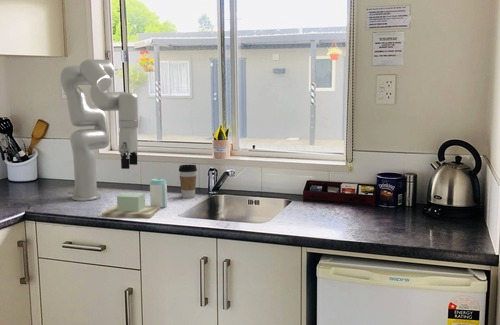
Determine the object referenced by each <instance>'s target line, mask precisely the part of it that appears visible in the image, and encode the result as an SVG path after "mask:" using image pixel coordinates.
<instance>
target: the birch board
mask: <svg viewBox="0 0 500 325" xmlns="http://www.w3.org/2000/svg"><path fill="white" fill-rule="evenodd" d="M159 211H161V208H160V206H151V205H145V208H144V209H142V210H141V211H139V212H130V211H118V209H117V204H113V205H112V206H110V207H109V208H107V209H105V210H103V212H101V217H103V218H104V217H105V218H132V219H134V218H135V219H136V218H137V219H138V218H139V219H141V218H142V219H151V218H152V217H154V214H155V213H156V214H157V213H158V212H159ZM156 214H155V215H156Z"/></svg>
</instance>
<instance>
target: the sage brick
mask: <svg viewBox="0 0 500 325" xmlns="http://www.w3.org/2000/svg"><path fill="white" fill-rule="evenodd" d="M145 195H146V194H145V193H141V192H140V193H139V192H138V193H137V192H123V193H120V194H119V195H117V196H116V203H117V204H116V205H117V209H118V211H130V212H139V211H141V210H142V209H144V208H145V206H146V198H145V197H146V196H145Z"/></svg>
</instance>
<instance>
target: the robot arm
mask: <svg viewBox="0 0 500 325" xmlns="http://www.w3.org/2000/svg"><path fill="white" fill-rule="evenodd" d="M114 74H115V67H114V65H113V63H112V62H111V61H109V60H107V59H91V58H90V59H85V60H83V61H82V62H80V64H79V65H70V66H69V65H68V66H66V67H64V68H62V69H61V73H60V84H61V87H62V89H63V92H64V94H65V97H66V102H67V107H68V113H69V119H70V122H71V124H72V126H74V127H76V128H81V127H83V129H78V130H75V131H73V132H72V133H71V134H70V137H69V141H70V146H71V150H72V157H73V170H74V171H73V172H74V188H67V194H69V195H70V194H71V195H72V196H71V199H72V200H74V201H79V202H80V201H84V202H85V201H93V200H98V199H100V198H101V194H100V193H98V188H97V186H98V185H97V164H96V158H95V156H94V154H92V152H91V151H93V150H103V149H107V148H108V146H109V145H110V140H111V139H110V132H109V127H108V121H107V120H108V119H107V115H106V112H111V111H116V112H118V113H117V114H118V115H117V116H118V129H119V133H118V153H119V155H120V168H121V169H122V170H129V169H130V165H131V166H132V165H133V166H134V165H135V166H136V165H138V143H139V142H138V128H139V116H138V115H139V114H138V113H139V111H138V108H139V107H138V106H139V104H138V103H139V102H138V96H137V93H133V92H126V91H107V90H109V89H110V87H111V86H112V78H113V76H114ZM87 85H88V86H90V89H89V90H90V91H89V92H90V93H89V94H90V98H91V101H92V103H93V104H94V105H93V104H92V105H90V104H88V99H87V95H86V93H85V92H84V90H83V89H82V88H81V87H80V86H87ZM84 127H86V128H87V127H93V128H87V129H86V128H85V129H84Z"/></svg>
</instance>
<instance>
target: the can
mask: <svg viewBox="0 0 500 325" xmlns="http://www.w3.org/2000/svg"><path fill="white" fill-rule="evenodd" d="M150 180H151V181H150V183H149V191H150V192H149V197H150V199H149V200H150V203H149V204H150V206H160V209H164V208H166V207H167V206H168V188H167V187H168V186H167V184H168V183H167V181H166V179H165V178H160V177H159V178H157V177H156V178H151V179H150ZM163 207H164V208H163Z"/></svg>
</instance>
